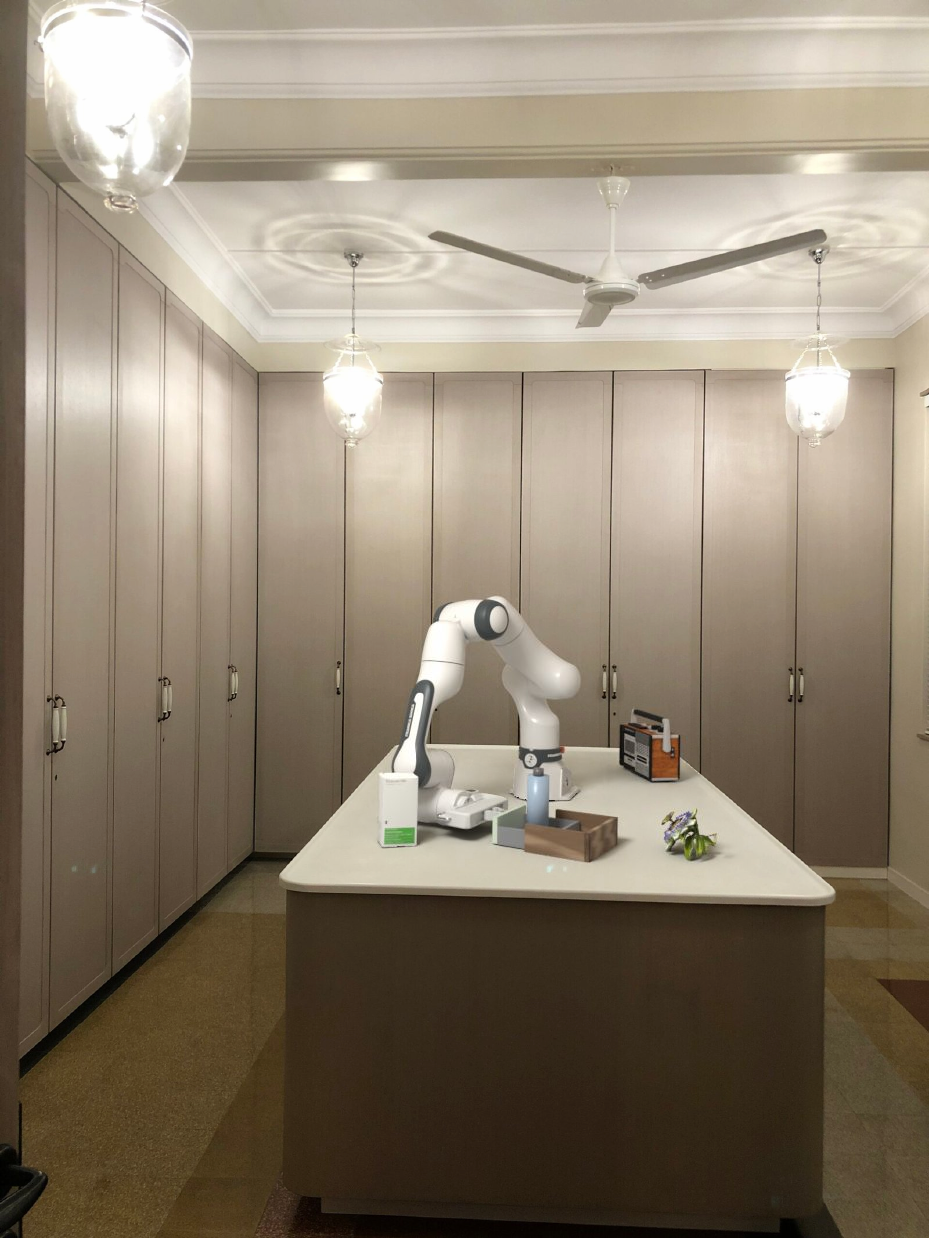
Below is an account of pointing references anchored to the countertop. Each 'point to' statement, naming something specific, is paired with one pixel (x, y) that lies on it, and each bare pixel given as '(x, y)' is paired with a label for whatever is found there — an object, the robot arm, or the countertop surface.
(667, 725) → the radio cassette player
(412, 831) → the skincare box
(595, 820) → the brown open box
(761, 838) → the countertop surface
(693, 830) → the passion flower
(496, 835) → the drawer
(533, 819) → the lotion bottle
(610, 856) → the countertop surface
